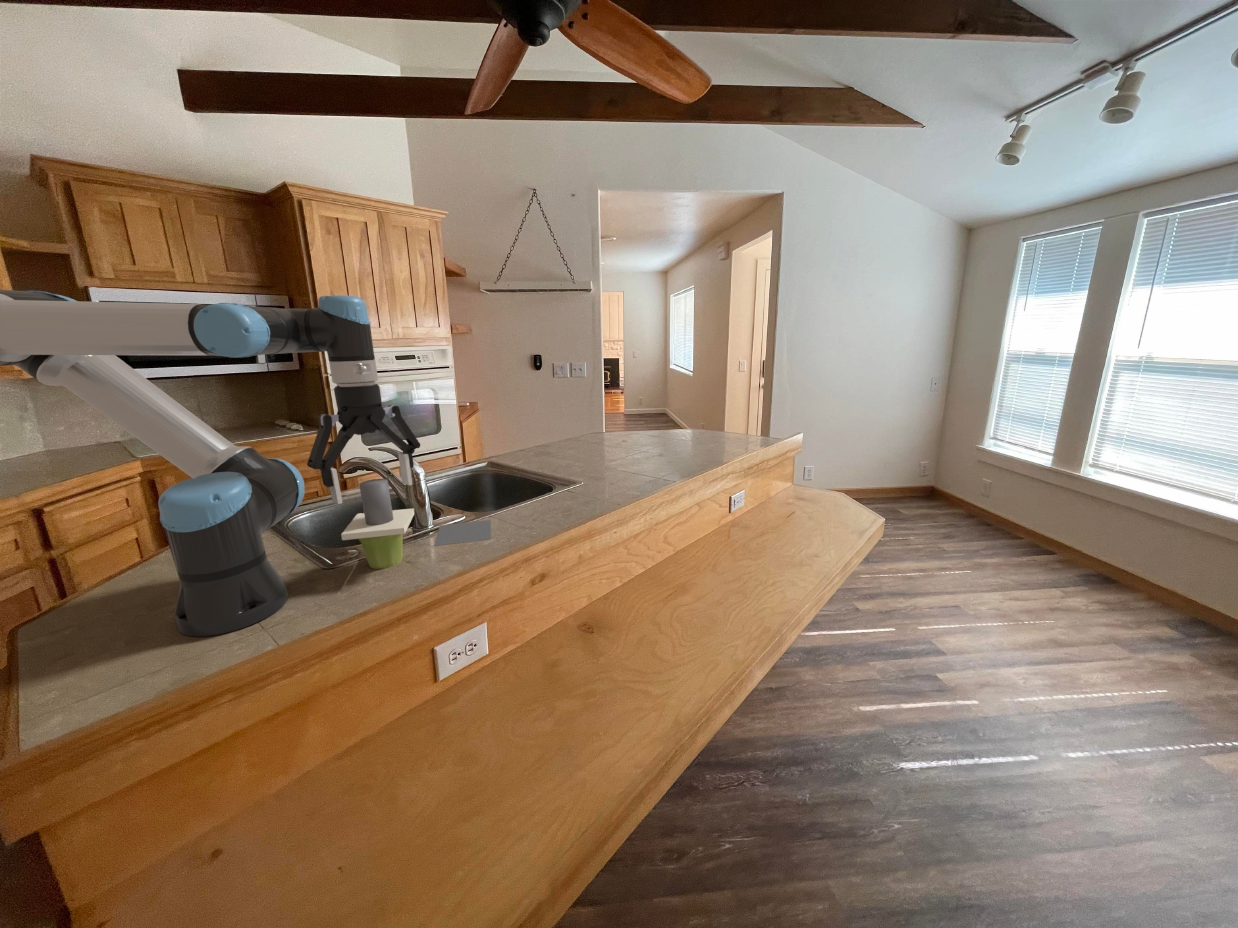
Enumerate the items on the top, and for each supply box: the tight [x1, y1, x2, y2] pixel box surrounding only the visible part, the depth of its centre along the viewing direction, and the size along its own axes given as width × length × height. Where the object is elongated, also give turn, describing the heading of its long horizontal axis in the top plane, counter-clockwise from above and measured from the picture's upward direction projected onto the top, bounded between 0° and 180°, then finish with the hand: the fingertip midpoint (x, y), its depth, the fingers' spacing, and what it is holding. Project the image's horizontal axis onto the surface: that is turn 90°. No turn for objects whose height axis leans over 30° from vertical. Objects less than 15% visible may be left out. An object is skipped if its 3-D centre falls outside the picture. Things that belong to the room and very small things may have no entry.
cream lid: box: [340, 478, 415, 541], centre depth 95 cm, size 11×11×9 cm
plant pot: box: [358, 534, 404, 570], centre depth 98 cm, size 9×9×9 cm
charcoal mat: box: [434, 519, 492, 547], centre depth 113 cm, size 12×12×1 cm
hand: (374, 492), depth 95 cm, fingers open, 13 cm apart
